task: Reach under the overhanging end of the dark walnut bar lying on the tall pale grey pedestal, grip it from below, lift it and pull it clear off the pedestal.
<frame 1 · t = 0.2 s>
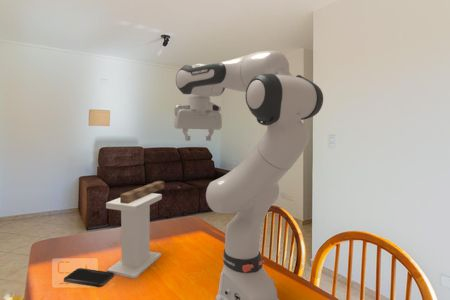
hand: (198, 140, 110), 48 cm above the table, tool pointing down, fingers open, 8 cm apart
phone: (89, 279, 95), on the table
walnut bar: (144, 194, 109), point 26 cm above the table, touching pedestal
pedestal: (135, 263, 105), on the table
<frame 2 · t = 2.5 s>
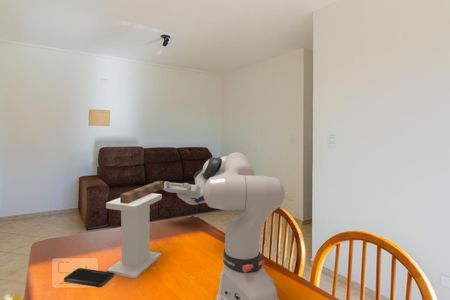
hand: (175, 183, 135), 25 cm above the table, tool pointing upward, fingers open, 8 cm apart
nothing on the table moved.
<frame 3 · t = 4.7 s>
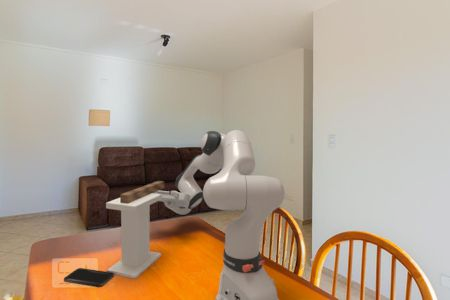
hand: (161, 191, 121), 24 cm above the table, tool pointing upward, fingers open, 8 cm apart
nothing on the table moved.
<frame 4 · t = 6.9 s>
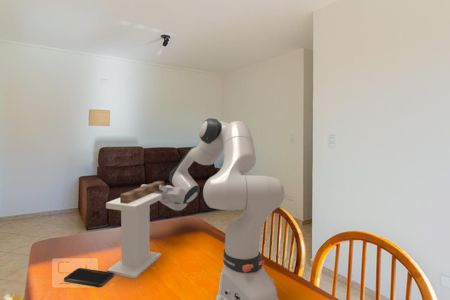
hand: (154, 186, 115), 28 cm above the table, tool pointing upward, fingers closed on walnut bar, 3 cm apart
walnut bar: (144, 194, 109), point 26 cm above the table, touching gripper, pedestal
everything else where it was.
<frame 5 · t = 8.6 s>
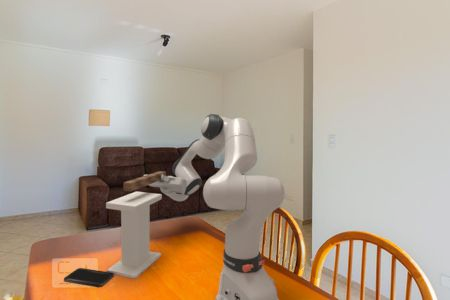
hand: (156, 175, 117), 32 cm above the table, tool pointing upward, fingers closed on walnut bar, 3 cm apart
walnut bar: (147, 183, 110), point 30 cm above the table, touching gripper
everything else where it was.
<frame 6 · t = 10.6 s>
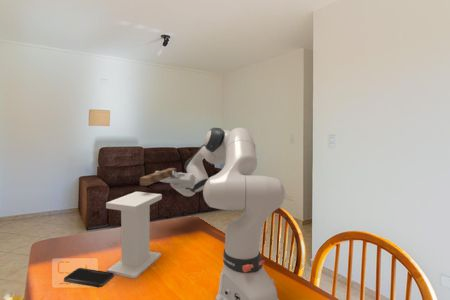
hand: (167, 172, 126), 32 cm above the table, tool pointing upward, fingers closed on walnut bar, 3 cm apart
walnut bar: (159, 179, 120), point 30 cm above the table, touching gripper
everything else where it was.
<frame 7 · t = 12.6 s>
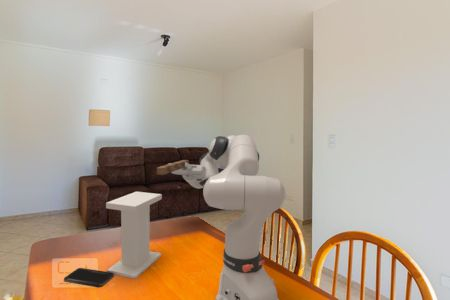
hand: (180, 163, 133), 35 cm above the table, tool pointing upward, fingers closed on walnut bar, 3 cm apart
walnut bar: (174, 169, 127), point 33 cm above the table, touching gripper
everything else where it was.
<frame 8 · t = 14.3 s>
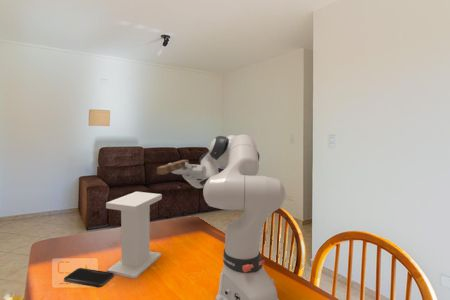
hand: (181, 163, 133), 35 cm above the table, tool pointing upward, fingers closed on walnut bar, 3 cm apart
walnut bar: (174, 169, 127), point 33 cm above the table, touching gripper
everything else where it was.
at the end: the gripper is holding walnut bar; walnut bar touching gripper; walnut bar moved 21.8 cm from its start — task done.
